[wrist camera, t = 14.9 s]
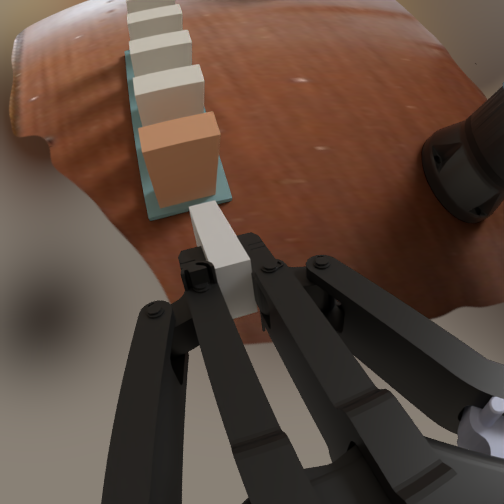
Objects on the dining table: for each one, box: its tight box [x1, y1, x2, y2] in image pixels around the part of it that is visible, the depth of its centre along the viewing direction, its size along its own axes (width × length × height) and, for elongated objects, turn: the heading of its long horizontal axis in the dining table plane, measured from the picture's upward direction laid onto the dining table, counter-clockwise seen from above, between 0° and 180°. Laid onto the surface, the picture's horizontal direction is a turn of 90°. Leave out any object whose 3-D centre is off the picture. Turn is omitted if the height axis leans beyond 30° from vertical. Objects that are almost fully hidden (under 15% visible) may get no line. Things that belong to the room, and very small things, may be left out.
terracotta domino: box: [138, 111, 221, 209], centre depth 28 cm, size 2×6×11 cm, turn 108°
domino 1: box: [126, 0, 175, 14], centre depth 33 cm, size 2×6×11 cm, turn 107°
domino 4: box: [133, 64, 205, 127], centre depth 29 cm, size 2×6×11 cm, turn 107°
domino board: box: [125, 50, 232, 221], centre depth 36 cm, size 28×9×1 cm, turn 17°
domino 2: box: [127, 4, 183, 41], centre depth 32 cm, size 2×6×11 cm, turn 107°
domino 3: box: [129, 30, 192, 77], centre depth 30 cm, size 2×6×11 cm, turn 107°
